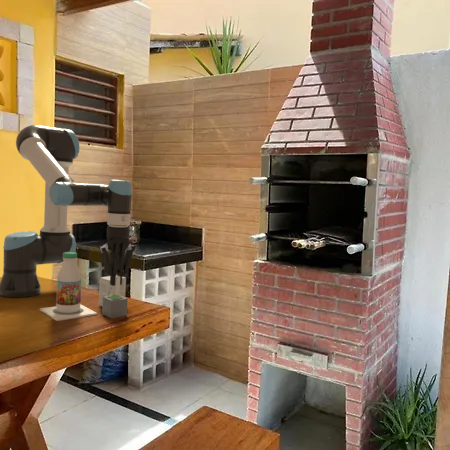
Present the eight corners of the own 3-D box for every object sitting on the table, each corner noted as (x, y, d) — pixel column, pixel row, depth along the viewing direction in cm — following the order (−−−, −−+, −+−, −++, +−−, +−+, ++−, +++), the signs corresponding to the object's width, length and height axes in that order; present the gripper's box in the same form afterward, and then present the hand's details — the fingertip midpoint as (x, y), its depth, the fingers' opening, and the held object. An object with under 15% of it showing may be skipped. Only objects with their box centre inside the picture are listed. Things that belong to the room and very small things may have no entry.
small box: (115, 302, 174) (117, 274, 174) (125, 305, 171) (126, 277, 170) (98, 305, 168) (99, 277, 167) (107, 308, 165) (108, 280, 164)
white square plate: (39, 310, 158) (39, 308, 158) (78, 304, 167) (78, 303, 167) (56, 321, 148) (56, 318, 147) (96, 314, 157) (96, 312, 157)
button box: (102, 313, 158) (103, 296, 158) (117, 311, 162) (118, 294, 162) (110, 318, 154) (111, 300, 153) (126, 315, 158) (127, 298, 157)
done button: (107, 308, 158) (108, 294, 158) (116, 307, 161) (117, 293, 160) (112, 311, 155) (113, 296, 155) (122, 309, 158) (122, 295, 157)
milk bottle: (52, 309, 157) (53, 251, 155) (73, 306, 163) (75, 250, 161) (62, 315, 152) (64, 255, 150) (84, 311, 157) (86, 253, 155)
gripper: (106, 227, 148) (103, 299, 150) (141, 226, 157) (137, 294, 159) (95, 224, 154) (92, 294, 156) (129, 224, 163) (126, 290, 165)
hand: (115, 294), depth 157 cm, fingers closed
